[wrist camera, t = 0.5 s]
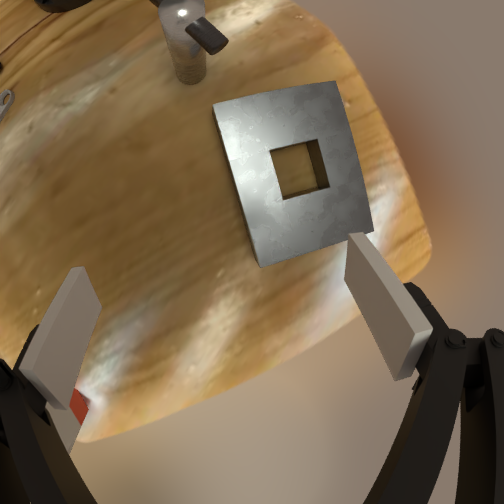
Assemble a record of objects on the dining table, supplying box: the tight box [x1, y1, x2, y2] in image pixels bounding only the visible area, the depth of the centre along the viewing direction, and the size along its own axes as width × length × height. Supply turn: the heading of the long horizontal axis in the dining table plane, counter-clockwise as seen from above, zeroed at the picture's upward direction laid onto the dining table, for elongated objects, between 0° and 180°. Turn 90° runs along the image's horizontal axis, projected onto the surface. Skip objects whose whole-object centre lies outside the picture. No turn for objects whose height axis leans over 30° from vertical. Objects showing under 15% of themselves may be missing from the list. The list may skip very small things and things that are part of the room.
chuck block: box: [212, 81, 374, 268], centre depth 33 cm, size 18×14×4 cm
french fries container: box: [45, 389, 89, 454], centre depth 29 cm, size 5×11×18 cm, turn 56°
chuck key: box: [149, 0, 229, 85], centre depth 24 cm, size 9×4×15 cm, turn 41°
